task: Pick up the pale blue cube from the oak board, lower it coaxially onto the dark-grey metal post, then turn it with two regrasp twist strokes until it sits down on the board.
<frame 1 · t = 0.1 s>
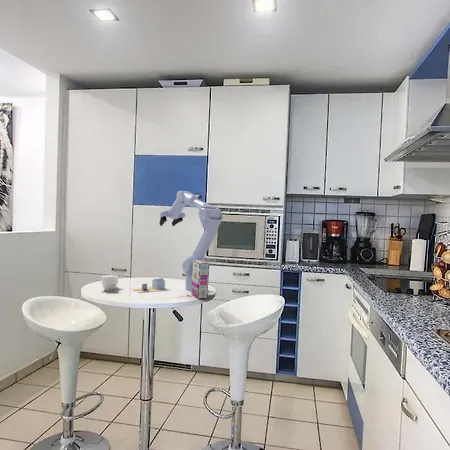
hand: (166, 224, 215), 32 cm above the table, tool tilted 50°, fingers open, 7 cm apart
candy bar box: (199, 297, 182), on the table, touching arm
cup: (110, 289, 190), on the table
post: (144, 292, 186), resting on post board
post board: (149, 291, 189), on the table
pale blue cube: (158, 288, 193), point 1 cm above the table, touching post board
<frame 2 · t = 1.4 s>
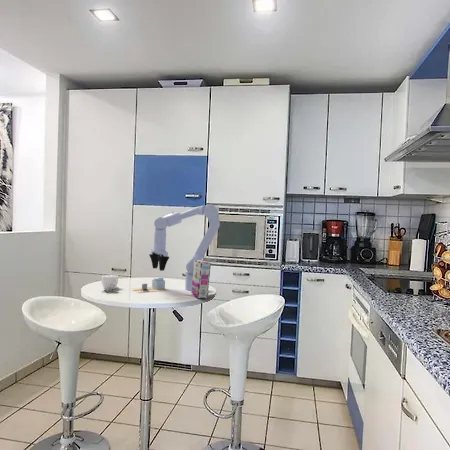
hand: (158, 269, 193), 10 cm above the table, tool pointing down, fingers open, 7 cm apart
candy bar box: (199, 296, 182), on the table
everything else where it was.
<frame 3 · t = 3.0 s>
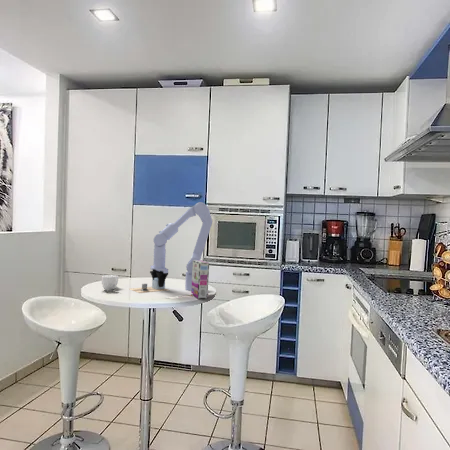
hand: (158, 286, 193), 2 cm above the table, tool pointing down, fingers closed on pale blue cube, 5 cm apart
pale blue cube: (158, 288, 193), point 1 cm above the table, touching gripper, post board
everything else where it was.
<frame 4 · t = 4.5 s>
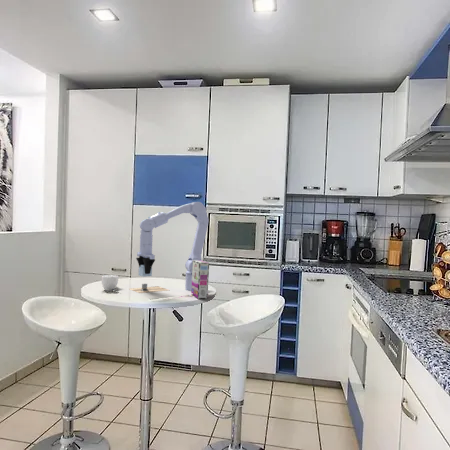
hand: (145, 273, 186), 9 cm above the table, tool pointing down, fingers closed on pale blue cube, 5 cm apart
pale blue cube: (145, 275, 186), point 8 cm above the table, touching gripper
everything else where it was.
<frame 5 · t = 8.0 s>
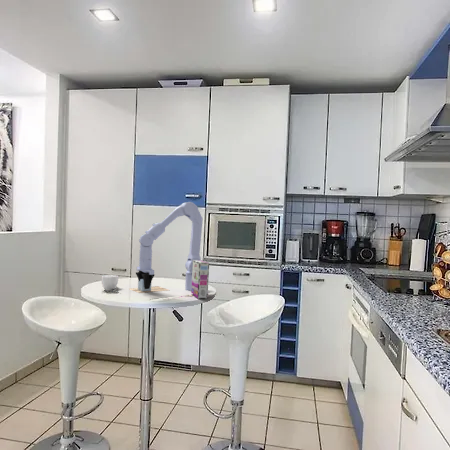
hand: (144, 287, 186), 2 cm above the table, tool pointing down, fingers closed on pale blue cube, 5 cm apart
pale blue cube: (144, 289, 186), point 1 cm above the table, touching gripper, post
everything else where it was.
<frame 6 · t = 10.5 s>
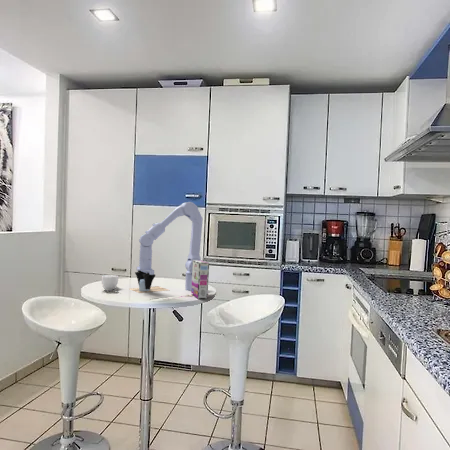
hand: (144, 287, 186), 2 cm above the table, tool pointing down, fingers closed on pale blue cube, 6 cm apart
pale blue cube: (144, 290, 186), point 1 cm above the table, touching gripper, post
everything else where it was.
when the fingers open (3 cm above the table, at t = 12.0 s): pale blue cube stays where it is, resting on post.
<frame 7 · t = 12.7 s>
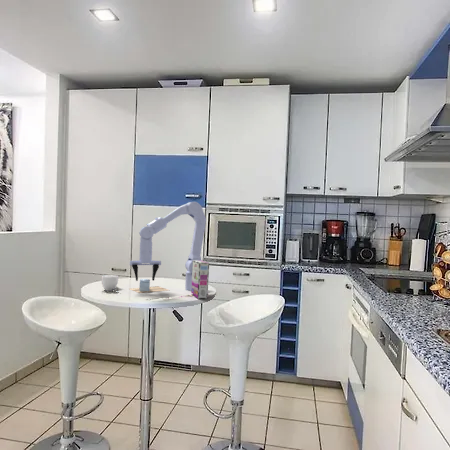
hand: (145, 280, 186), 6 cm above the table, tool pointing down, fingers open, 7 cm apart
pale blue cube: (144, 290, 186), point 1 cm above the table, touching post
everything else where it was.
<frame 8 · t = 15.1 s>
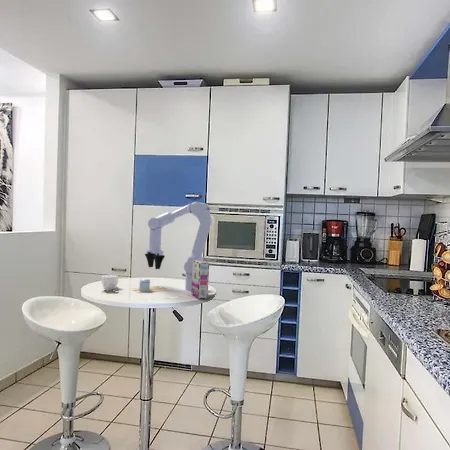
hand: (154, 268, 200), 10 cm above the table, tool pointing down, fingers open, 7 cm apart
nothing on the table moved.
at the end: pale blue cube 0.0 cm from the post (horizontally); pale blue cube point 1.0 cm above the table; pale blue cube tilted 1° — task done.
